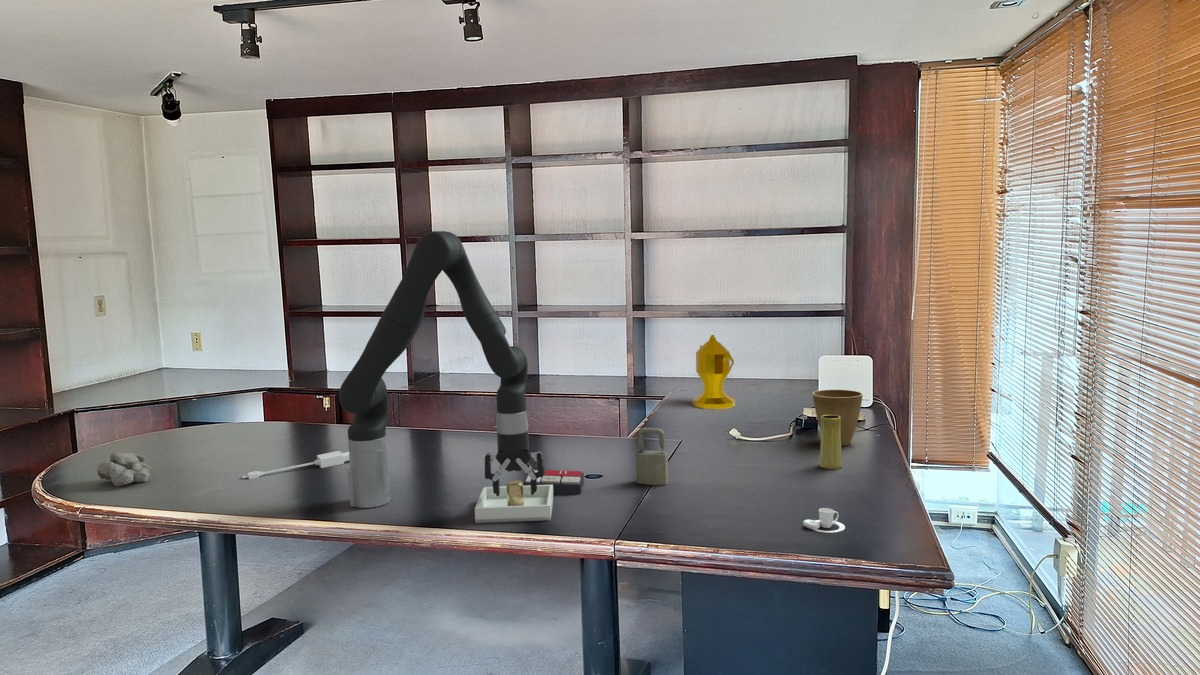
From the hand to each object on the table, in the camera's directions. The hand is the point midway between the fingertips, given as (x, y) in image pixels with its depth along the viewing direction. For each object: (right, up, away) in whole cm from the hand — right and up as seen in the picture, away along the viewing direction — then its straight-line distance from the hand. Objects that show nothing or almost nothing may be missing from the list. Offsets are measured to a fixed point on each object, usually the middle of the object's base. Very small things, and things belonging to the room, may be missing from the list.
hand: (515, 494), depth 190 cm
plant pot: (+95, +5, +54) cm, 109 cm away
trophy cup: (+67, +11, +120) cm, 138 cm away
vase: (+86, +2, +29) cm, 90 cm away
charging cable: (-69, -2, +44) cm, 82 cm away
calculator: (+9, -2, +17) cm, 19 cm away
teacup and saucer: (+69, -4, -15) cm, 71 cm away
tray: (0, -4, 0) cm, 4 cm away
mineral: (-116, -4, +35) cm, 122 cm away
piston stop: (0, -3, 0) cm, 3 cm away
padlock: (+35, -1, +19) cm, 40 cm away
